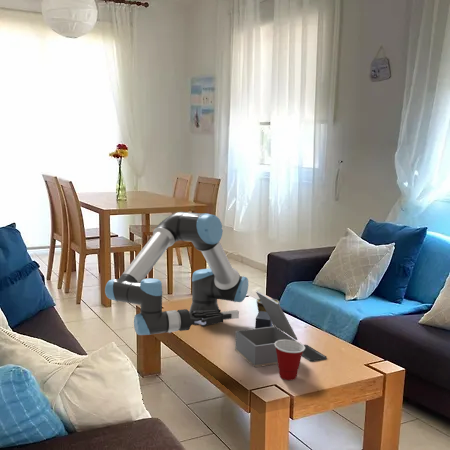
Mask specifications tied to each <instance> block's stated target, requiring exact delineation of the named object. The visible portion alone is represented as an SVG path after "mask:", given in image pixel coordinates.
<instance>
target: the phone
mask: <svg viewBox="0 0 450 450" xmlns="http://www.w3.org/2000/svg"><path fill="white" fill-rule="evenodd" d="M303 345H304V346H305V350H304V351H303V353H302V356H301V358H304V359H305V360H307V361H308V362H310V363H312V362H320V361H324V360H326V359H327V355H325V354H323V353H321V352H319V350H316V349H315V348H313V347H311V346H310V345H308V344H303Z"/></svg>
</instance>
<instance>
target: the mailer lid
mask: <svg viewBox="0 0 450 450" xmlns="http://www.w3.org/2000/svg"><path fill="white" fill-rule="evenodd" d="M255 293H256V295H257V296H258V299H260V300H261V302H262V304H263V306H264V308H265V310H266V311H267V313H268V315H269V317H270V319H271V321H272V323H273V326H275V327H276V328H278V329H279V330H281V331H282V332H284V333H285V334H287V335H288V336H290V337H291V338H293V339H294V340H296V341H298V339H299V338H298V337H297V335H296V334H295V332H294V330H293V328H292V326H291V324H290V322H289V320H288V318H287V316H286V313H284V310H283V309H282V306H281V305H280V302H279V303H277V302H276V301H274V300H273V299H274V298H272V297H270V296H268V295H266V294H263V293H262V292H260V291H259V290H256V291H255Z"/></svg>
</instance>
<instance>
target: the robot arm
mask: <svg viewBox="0 0 450 450" xmlns="http://www.w3.org/2000/svg"><path fill="white" fill-rule="evenodd" d="M223 231H224V230H223V224H222V222H221V219H220V218H219V217H218V216H217V215H216V214H210V213H208V212H207V213H205V212H204V213H199V212H198V213H197V212H187V211H179V212H178V211H177V212H175V213H172V214H171V215H169V216H168V217H165V218H164V219H163V220H162V221H160V222H159V223H158V224H157V226H155V228H154V229H153V231H152V236H151V237H150V239H149V240H148V241H147V242H146V244H145V245H144V246H143V247H142V249H141V250H140V251H139V252H138V254H137V255H136V256H135V257H134V259H133V260H132V261H131V263H130V264H129V265H128V267H127V268H125V270H124V271H123V273H122V274H121V275H120V276H119V278H118V279H116V278H113V279H109V280H108V281H107V282H106V284H105V287H104V293H105V296H106V298H107V299H109V300H111V301H115V302H121V303H127V304H128V303H129V304H133V305H138V306H140V312H139V313H137V314H135V315H134V317H133V327H134V332H135V333H136V334H137V335H138V336H150V335H155V334H156V335H157V334H164V333H168V334H171V333H174V332H179V331H180V332H183V331H189V330H190V329H191V326H199V325H201V326H200V327H201V328H205V327H206V326H211V325H215V324H216V325H217V324H220V323H224V321H226V320H233V319H239V318H240V311H239V310H238V309H236V310H227V311H225V310H224V311H222V310H221V309H220V307H219V304H218V300H221V301H228V302H234V303H242V302H243V301H244V300H245V298H246V297H247V294H248V290H249V279H248V277H246V276H245V275H243V276H241V275H240V272H239V271H238V270H237V269H236V268H234V267H232V264H231V262H230V260H229V258H228V256H227V254H226V251H225V249H224V248H223V246H222V244H221V242H220V241H221V240H222V237H223ZM178 241H182V242H189V243H190V242H191V243H192V245H193V247H194V248H195V249H196V250H197V251H199V252H201V254H202V255H203V257H204V259H205V261H206V264H207V265H208V267H209V268H201V269H197V270H195V271H194V272H193V273H192V277H191V285H192V286H191V287H192V289H191V290H192V291H191V292H192V293H191V296H192V297H191V304H190V308H189V310H188V308H185V309H178V310H176V309H173V310H165V311H164V310H163V286H162V284H163V282H162V280H160V279H159V278H150V277H149V278H146V277H147V276H148V275H149V273H150V272H151V270H152V269H153V268H154V267H155V266H156V264H157V263H158V261H159V260H160V259H161V257H162V256H163V255H164V253H165V252H166V251H167V249H168V248H169V247H172V246H173V245H174V244H175V243H176V242H178Z"/></svg>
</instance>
